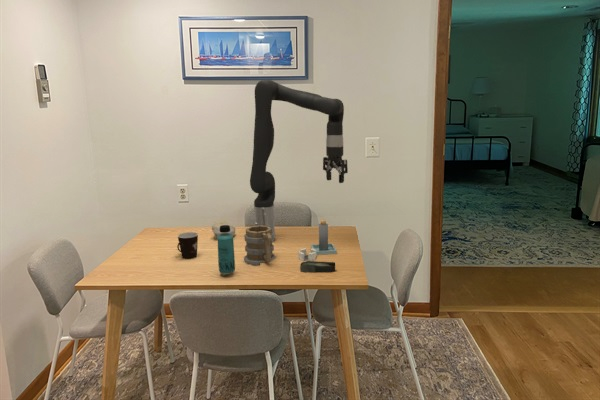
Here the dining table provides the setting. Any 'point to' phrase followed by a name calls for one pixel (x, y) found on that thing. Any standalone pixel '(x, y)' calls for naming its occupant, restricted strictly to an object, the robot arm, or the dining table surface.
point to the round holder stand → (304, 257)
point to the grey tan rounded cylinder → (323, 236)
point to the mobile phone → (317, 266)
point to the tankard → (259, 245)
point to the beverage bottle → (226, 251)
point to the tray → (330, 251)
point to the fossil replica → (217, 228)
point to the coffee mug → (188, 245)
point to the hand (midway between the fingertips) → (335, 181)
